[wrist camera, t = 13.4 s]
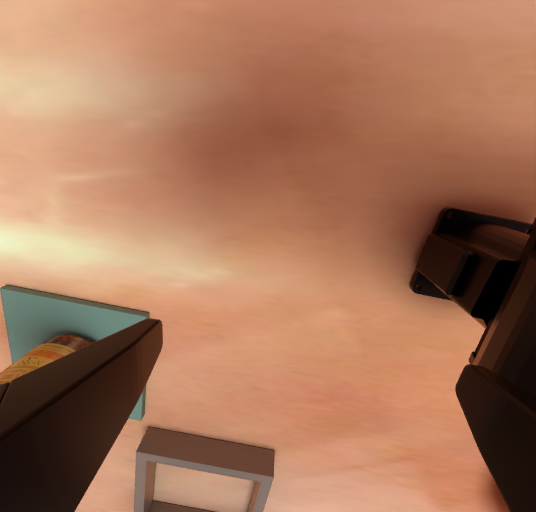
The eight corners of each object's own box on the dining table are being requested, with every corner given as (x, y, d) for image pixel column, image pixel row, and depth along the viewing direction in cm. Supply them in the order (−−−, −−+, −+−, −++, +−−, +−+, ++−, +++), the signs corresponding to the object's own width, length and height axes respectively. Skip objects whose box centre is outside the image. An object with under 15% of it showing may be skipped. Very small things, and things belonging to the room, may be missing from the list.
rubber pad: (149, 312, 23) (145, 316, 23) (144, 415, 27) (141, 420, 27) (6, 284, 23) (-1, 288, 22) (23, 392, 27) (18, 397, 27)
